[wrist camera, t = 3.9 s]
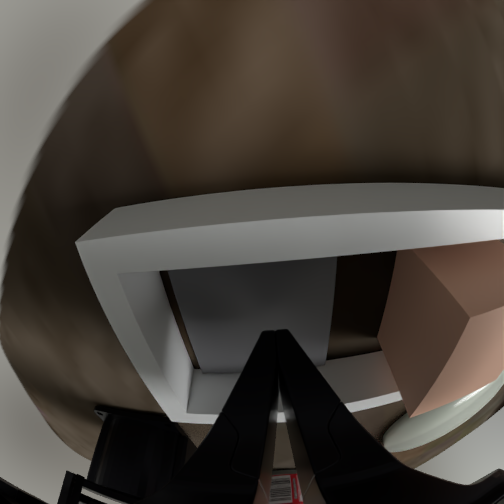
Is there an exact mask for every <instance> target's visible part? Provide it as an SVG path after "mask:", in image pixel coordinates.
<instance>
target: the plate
mask: <svg viewBox="0 0 504 504" xmlns="http://www.w3.org/2000/svg"><path fill="white" fill-rule="evenodd" d="M503 384H504V370H503V371H502V372H501V374H500V375H499V376H498V378H497V379H496V380H495V381H493V382H491V383H489V384H487V385H486V386H484V387H482V388H480V389H478V390H476V391H474V392H472V393H470V394H468V395H466V396H464V397H462V398H459V399H457V400H455V401H453V402H450V403H448V404H446V405H443V406H441V407H438V408H436V409H433V410H431V411H428V412H425V413H423V414H420V415H417V416H414V417H411V418H409V416H408V413H406V414H404V415H403V416H402V417H401V418H399V419H398V420H397V421H396V422H395V423H394V424H393V425H392V426H391V427H389V429H388V430H387V431H386V432H385V434H384V435H383V438H382V439H383V444H384V447H385V448H386V449H387V450H388V451H389V452H400V451H405V450H409V449H412V448H415V447H418V446H421V445H424V444H426V443H428V442H431V441H433V440H435V439H437V438H439V437H441V436H443V435H445V434H446V433H448V432H450V431H451V430H453V429H455V428H456V427H458V426H459V425H461V424H462V423H464V422H465V421H466V420H468V419H469V418H470V417H472V416H473V415H474V414H475V413H477V412H478V411H479V410H480V409H481V408H482V407H483V406H485V405H486V404H487V403H488V402H489V401H490V400H491V399H492V398H493V396H494V395H495V394H496V393H497V392H498V391H499V389H500V388H501V387H502V385H503Z"/></svg>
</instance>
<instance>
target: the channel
mask: <svg viewBox="0 0 504 504" xmlns="http://www.w3.org/2000/svg"><path fill="white" fill-rule="evenodd" d="M497 239H504V188H497V187H486V186H472V185H455V184H431V183H350V184H323V185H304V186H289V187H275V188H263V189H252V190H241V191H231V192H222V193H213V194H205V195H197V196H189V197H182V198H175V199H168V200H161V201H154V202H148V203H142V204H136V205H130V206H124V207H119V208H115V209H113V210H112V211H111V212H110V213H108V214H107V215H106V216H105V217H103V218H102V219H101V220H100V221H99V222H98V223H96V224H95V225H94V226H93V227H92V228H90V229H89V230H88V231H87V232H86V233H85V234H84V235H82V236H81V237H80V238H79V239H78V240H77V241H76V242H75V244H76V246H77V249H78V252H79V255H80V257H81V260H82V262H83V265H84V267H85V270H86V272H87V275H88V277H89V280H90V282H91V284H92V287H93V289H94V291H95V293H96V296H97V298H98V300H99V302H100V304H101V306H102V308H103V310H104V312H105V315H106V317H107V319H108V321H109V322H110V324H111V326H112V328H113V330H114V332H115V334H116V336H117V338H118V339H119V341H120V343H121V345H122V347H123V348H124V350H125V352H126V354H127V355H128V357H129V359H130V360H131V362H132V364H133V365H134V367H135V369H136V370H137V372H138V374H139V375H140V377H141V378H142V380H143V381H144V383H145V384H146V386H147V387H148V389H149V390H150V392H151V393H152V395H153V396H154V398H155V399H156V401H157V402H158V403H159V405H160V406H161V408H162V409H163V410H164V412H165V413H166V414H167V416H168V417H169V418H170V420H171V421H172V422H184V423H199V424H214V423H215V421H216V419H217V417H218V415H219V413H220V412H222V408H223V406H224V404H225V403H226V401H227V399H228V397H229V395H230V393H231V391H232V389H233V387H234V385H235V384H236V382H237V380H238V378H239V376H240V374H241V372H242V370H243V368H244V366H245V364H246V362H247V360H248V358H249V356H250V354H251V352H252V350H253V348H254V346H255V344H256V342H257V340H258V338H259V336H260V334H261V332H262V331H265V330H274V331H276V330H277V329H288V330H289V331H290V332H291V334H292V335H293V336H294V338H295V339H296V340H297V342H298V343H299V344H300V346H301V347H302V349H303V350H304V351H305V353H306V354H307V355H308V357H309V358H310V359H311V361H312V362H313V363H314V365H315V366H316V367H317V369H318V370H319V371H320V373H321V374H322V375H323V377H324V378H325V379H326V381H327V382H328V383H329V385H330V386H331V387H332V389H333V390H334V391H335V393H336V394H337V395H338V397H339V398H340V399H341V402H343V403H344V404H345V406H346V407H347V408H348V410H349V411H350V412H355V411H359V410H364V409H368V408H373V407H377V406H381V405H385V404H388V403H392V402H395V401H399V400H402V397H401V394H400V392H399V389H398V387H397V384H396V382H395V379H394V377H393V374H392V372H391V369H390V367H389V365H388V362H387V360H386V357H385V355H384V353H383V351H378V352H373V353H368V354H363V355H358V356H352V357H346V358H340V359H333V360H326V356H327V349H328V342H329V335H330V327H331V319H332V310H333V301H334V290H335V279H336V266H337V256H344V255H354V254H365V253H375V252H385V251H395V250H405V249H415V248H425V247H434V246H443V245H453V244H462V243H471V242H479V241H488V240H497ZM162 270H168V274H169V277H170V281H171V284H172V287H173V290H174V294H175V297H176V300H177V303H178V306H179V309H180V312H181V315H182V318H183V321H184V324H185V327H186V330H187V333H188V336H189V339H190V341H191V344H192V347H193V350H194V352H195V355H196V358H197V360H198V363H199V366H200V368H201V369H194V367H193V365H192V362H191V360H190V357H189V355H188V352H187V350H186V347H185V345H184V342H183V339H182V337H181V334H180V331H179V329H178V326H177V323H176V320H175V318H174V315H173V312H172V309H171V306H170V303H169V300H168V297H167V294H166V291H165V288H164V285H163V282H162V279H161V276H160V272H159V271H162ZM278 380H279V379H278ZM277 422H286V420H285V415H284V411H283V406H282V401H281V397H280V391H279V402H278V415H277Z"/></svg>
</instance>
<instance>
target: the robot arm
mask: <svg viewBox="0 0 504 504" xmlns="http://www.w3.org/2000/svg"><path fill="white" fill-rule="evenodd" d="M278 379H279V380H278ZM279 391H280V397H281V401H282V406H283V411H284V415H285V420H286V425H287V429H288V434H289V439H290V443H291V448H292V453H293V457H294V462H295V467H296V471H297V476H298V480H299V485H300V490H301V494H302V498H303V504H504V470H502V469H497V470H495V471H493V472H491V473H490V474H488V475H486V476H484V477H483V478H481V479H479V480H477V481H475V482H474V483H472V484H470V485H462V484H458V483H454V482H451V481H447V480H444V479H440V478H438V477H435V476H432V475H429V474H426V473H423V472H420V471H417V470H415V469H412V468H410V467H408V466H406V465H405V464H403V463H402V462H400V461H399V460H398V459H397V458H396V457H394V456H393V455H392V454H391V453H390V452H389V451H388V450H387V449H386V448H385V447H384V446H382V445H381V444H380V443H379V442H378V441H377V440H376V439H375V438H374V437H373V436H372V435H371V434H370V433H369V432H368V431H367V430H366V429H365V428H364V427H363V426H362V425H361V424H360V423H359V422H358V421H357V419H356V418H355V417H354V416H353V415H352V413H351V412H350V411H349V410H348V408H347V407H346V406H345V404H344V403H343V402H341V399H340V398H339V397H338V395H337V394H336V393H335V391H334V390H333V389H332V387H331V386H330V385H329V383H328V382H327V381H326V379H325V378H324V377H323V375H322V374H321V373H320V371H319V370H318V369H317V367H316V366H315V365H314V363H313V362H312V361H311V359H310V358H309V357H308V355H307V354H306V353H305V351H304V350H303V349H302V347H301V346H300V344H299V343H298V342H297V340H296V339H295V338H294V336H293V335H292V334H291V332H290V331H289V330H288V329H277V330H276V331H274V330H265V331H262V332H261V334H260V336H259V338H258V340H257V342H256V344H255V346H254V348H253V350H252V352H251V354H250V356H249V358H248V360H247V362H246V364H245V366H244V368H243V370H242V372H241V374H240V376H239V378H238V380H237V382H236V384H235V385H234V387H233V389H232V391H231V393H230V395H229V397H228V399H227V401H226V403H225V404H224V406H223V408H222V412H220V413H219V415H218V417H217V419H216V421H215V423H214V424H213V426H212V428H211V429H210V431H209V432H208V434H207V436H206V437H205V438H204V440H203V441H202V443H201V444H200V445H199V447H198V448H197V447H196V446H195V445H194V444H193V442H192V441H191V440H190V439H189V437H188V436H187V435H186V434H185V432H184V431H183V430H182V428H181V427H180V426H179V424H178V423H177V422H172V421H171V420H170V418H169V417H162V416H153V415H145V414H138V413H132V412H126V411H120V410H115V409H110V408H105V407H100V406H95V409H94V412H95V413H96V414H97V415H98V416H99V417H100V418H101V419H102V420H103V421H104V423H103V426H102V429H101V432H100V435H99V438H98V441H97V444H96V448H95V451H94V454H93V458H92V461H91V465H90V469H89V472H88V476H87V479H84V477H83V476H81V475H78V474H77V475H76V474H74V473H71V472H69V471H66V474H65V478H64V481H63V485H62V489H61V492H60V496H59V499H58V503H57V504H106V503H104V502H101V501H98V500H96V499H93V498H91V497H89V496H86V495H84V494H82V493H81V490H82V488H83V489H86V490H88V491H90V492H93V493H95V494H97V495H100V496H103V497H105V498H108V499H111V500H113V501H116V502H119V503H122V504H269V496H270V488H271V479H272V470H273V460H274V450H275V439H276V427H277V415H278V402H279ZM0 504H48V503H46V502H44V501H42V500H41V499H39V498H37V497H35V496H33V495H31V494H29V493H27V492H25V491H23V490H21V489H19V488H18V487H16V486H14V485H13V484H11V483H9V482H7V481H6V480H4V479H2V478H1V477H0Z"/></svg>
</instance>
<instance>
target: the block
mask: <svg viewBox="0 0 504 504" xmlns="http://www.w3.org/2000/svg"><path fill="white" fill-rule="evenodd" d="M377 339H378V341H379V344H380V346H381V348H382V350H383V353H384V355H385V357H386V360H387V362H388V365H389V367H390V369H391V372H392V374H393V377H394V379H395V382H396V384H397V387H398V389H399V392H400V394H401V397H402V400H403V402H404V405H405V408H406V411H407V413H408V416H409V418H411V417H414V416H417V415H420V414H423V413H425V412H428V411H431V410H433V409H436V408H438V407H441V406H443V405H446V404H448V403H450V402H453V401H455V400H457V399H459V398H462V397H464V396H466V395H468V394H470V393H472V392H474V391H476V390H478V389H480V388H482V387H484V386H486V385H487V384H489V383H491V382H493V381H495V380H496V379H497V378H498V376H499V375H500V374H501V372H502V371H503V370H504V244H503V243H501V242H500V241H499V240H488V241H479V242H471V243H462V244H453V245H443V246H434V247H425V248H415V249H405V250H397V255H396V260H395V265H394V271H393V276H392V280H391V285H390V289H389V294H388V298H387V302H386V306H385V310H384V314H383V318H382V321H381V325H380V329H379V332H378V335H377Z"/></svg>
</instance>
